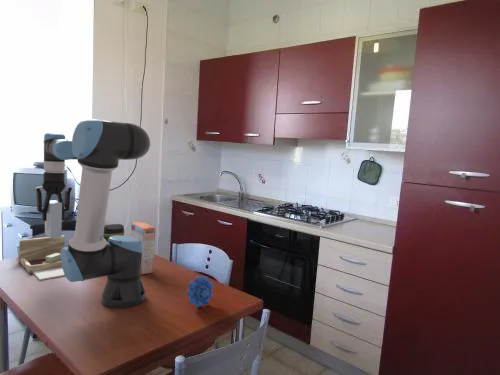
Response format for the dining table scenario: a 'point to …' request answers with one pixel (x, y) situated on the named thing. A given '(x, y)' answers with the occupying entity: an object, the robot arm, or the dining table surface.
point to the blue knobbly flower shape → (200, 291)
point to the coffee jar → (113, 230)
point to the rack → (40, 252)
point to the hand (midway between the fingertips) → (53, 227)
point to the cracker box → (145, 244)
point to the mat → (49, 273)
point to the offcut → (53, 258)
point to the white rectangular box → (54, 219)
